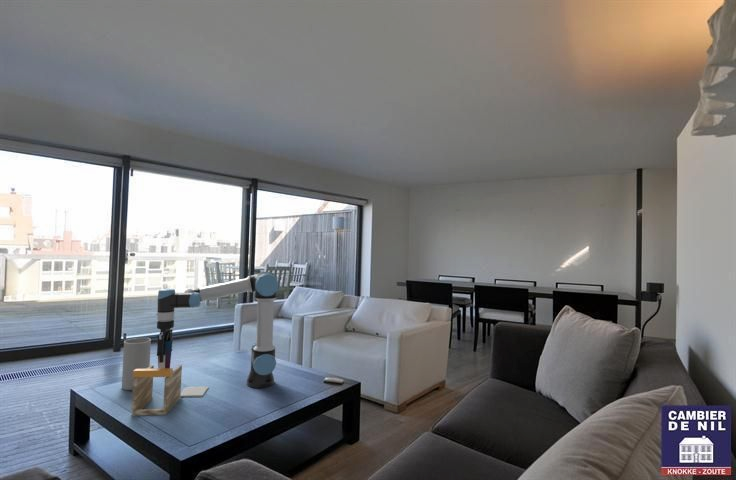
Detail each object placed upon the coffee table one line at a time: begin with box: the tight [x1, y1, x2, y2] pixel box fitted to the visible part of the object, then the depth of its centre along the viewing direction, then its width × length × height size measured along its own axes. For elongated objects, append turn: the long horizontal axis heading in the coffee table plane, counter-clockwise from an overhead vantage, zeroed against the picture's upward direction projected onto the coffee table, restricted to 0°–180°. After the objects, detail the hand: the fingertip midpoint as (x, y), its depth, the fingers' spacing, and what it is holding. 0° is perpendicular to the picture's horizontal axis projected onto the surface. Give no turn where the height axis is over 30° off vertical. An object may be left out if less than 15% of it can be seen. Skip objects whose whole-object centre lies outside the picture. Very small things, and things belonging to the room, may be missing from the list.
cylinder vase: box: [121, 337, 152, 391], centre depth 207 cm, size 12×12×25 cm
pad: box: [180, 386, 209, 398], centre depth 202 cm, size 12×12×1 cm
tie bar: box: [133, 367, 174, 378], centre depth 177 cm, size 16×3×3 cm, turn 99°
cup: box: [156, 338, 174, 369], centre depth 189 cm, size 7×7×15 cm
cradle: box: [131, 364, 183, 416], centre depth 184 cm, size 15×19×17 cm
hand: (164, 366), depth 189 cm, fingers closed on cup, 6 cm apart
